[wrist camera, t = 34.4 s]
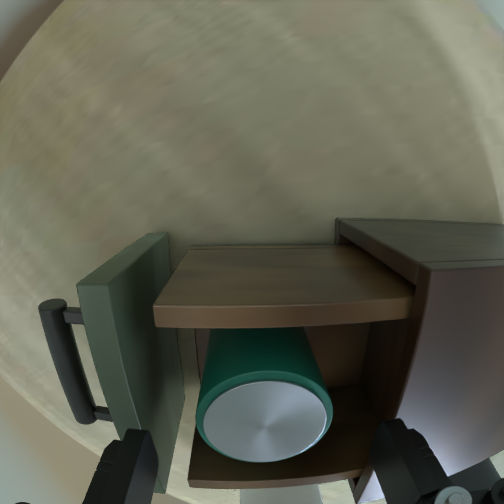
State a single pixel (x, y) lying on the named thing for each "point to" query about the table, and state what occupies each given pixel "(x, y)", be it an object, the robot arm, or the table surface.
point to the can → (262, 394)
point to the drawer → (234, 316)
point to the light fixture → (476, 476)
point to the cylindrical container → (282, 495)
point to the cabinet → (443, 336)
